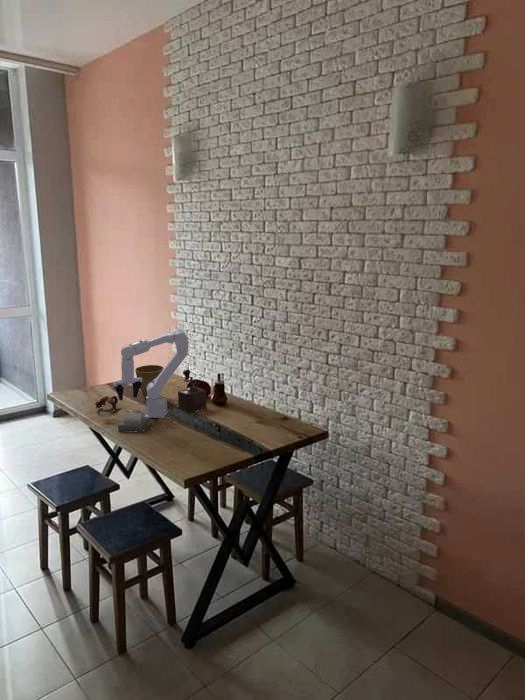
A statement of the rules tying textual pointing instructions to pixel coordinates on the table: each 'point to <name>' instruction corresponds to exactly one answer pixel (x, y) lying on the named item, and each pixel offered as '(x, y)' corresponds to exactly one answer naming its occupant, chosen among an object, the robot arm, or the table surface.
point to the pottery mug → (109, 400)
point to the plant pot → (147, 375)
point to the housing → (133, 416)
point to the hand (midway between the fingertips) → (128, 398)
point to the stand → (134, 426)
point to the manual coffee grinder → (191, 396)
